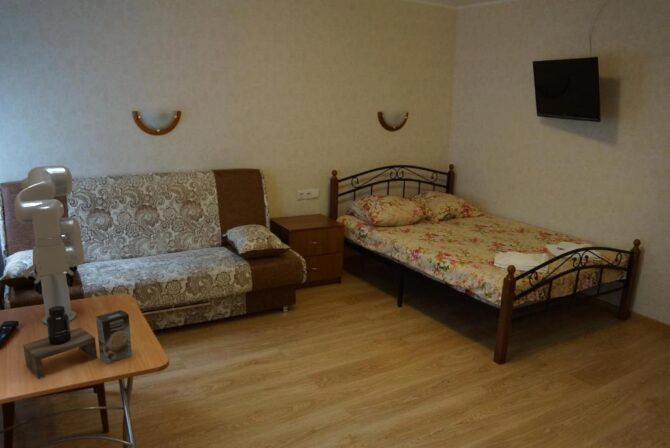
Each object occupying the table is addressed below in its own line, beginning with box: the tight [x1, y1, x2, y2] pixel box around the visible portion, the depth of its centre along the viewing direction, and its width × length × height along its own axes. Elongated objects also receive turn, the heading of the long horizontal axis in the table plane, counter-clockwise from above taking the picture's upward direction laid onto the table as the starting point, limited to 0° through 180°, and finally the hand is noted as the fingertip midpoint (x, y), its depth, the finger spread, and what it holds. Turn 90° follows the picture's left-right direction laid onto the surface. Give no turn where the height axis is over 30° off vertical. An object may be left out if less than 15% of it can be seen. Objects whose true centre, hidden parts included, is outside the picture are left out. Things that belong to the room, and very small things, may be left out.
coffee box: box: [95, 309, 133, 365], centre depth 179 cm, size 9×6×16 cm
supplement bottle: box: [46, 306, 71, 345], centre depth 174 cm, size 7×7×12 cm
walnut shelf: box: [22, 327, 98, 380], centre depth 176 cm, size 12×19×8 cm, turn 137°
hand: (54, 289), depth 173 cm, fingers open, 9 cm apart
